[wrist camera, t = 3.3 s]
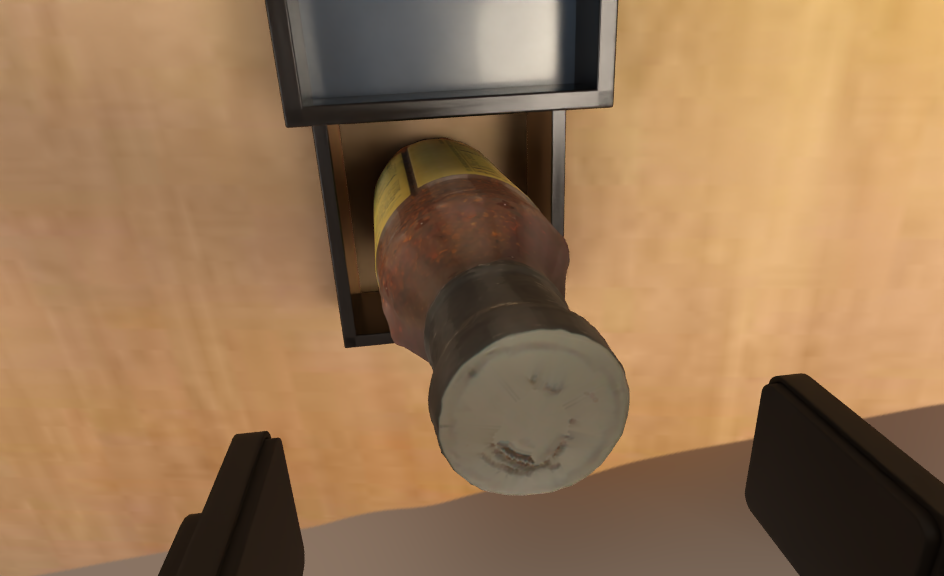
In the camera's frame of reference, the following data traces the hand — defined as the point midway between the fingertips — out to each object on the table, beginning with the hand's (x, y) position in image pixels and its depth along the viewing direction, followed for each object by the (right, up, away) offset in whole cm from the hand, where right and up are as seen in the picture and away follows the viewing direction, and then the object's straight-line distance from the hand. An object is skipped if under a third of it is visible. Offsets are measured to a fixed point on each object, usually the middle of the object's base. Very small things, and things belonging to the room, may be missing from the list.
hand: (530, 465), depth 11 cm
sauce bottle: (-3, +8, +19) cm, 21 cm away
